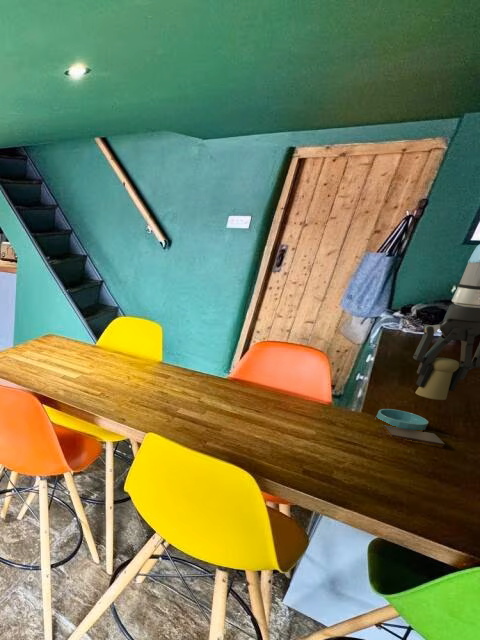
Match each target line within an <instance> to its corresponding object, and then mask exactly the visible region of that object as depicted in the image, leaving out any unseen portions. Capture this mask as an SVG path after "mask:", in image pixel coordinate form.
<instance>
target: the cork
mask: <svg viewBox="0 0 480 640" xmlns="http://www.w3.org/2000/svg"><path fill="white" fill-rule="evenodd" d="M430 364H432V365H433V367H432V369H431V372H430V374H429V376H428V378H427V381H426V383H425V385H424V387H419V386H418V387H417V388H416V391H415V394H416V395H418V396H420V397H422V398H425V399H431V400H437V401H444V400H447V399H448V393H449V386H450V382H451V378H452V375H453V372H454V371H456V370H457V369H458V368H459V366H460V362H459V361H457V360H456V359H452V358H448V357H435V358H434V359H433V361H432V362H431V363H430Z"/></svg>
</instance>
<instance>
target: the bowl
mask: <svg viewBox="0 0 480 640" xmlns="http://www.w3.org/2000/svg"><path fill="white" fill-rule="evenodd" d="M376 417H377V418H378V419H380V420H382V421H384V422H386V423H388V424H390V425H392V426H396V427H398V428H404V429H410V430H416V431H417V430H425V431H426V429H427V426H428V425H429V420H427V419H426V418H424V417H423V416H421V415H418V414H415V413H413V412H409V411H406V410H405V411H404V410H399V409H392V408H382V409H379V410H378V411H377V414H376V416H375V418H376Z"/></svg>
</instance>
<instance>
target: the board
mask: <svg viewBox="0 0 480 640" xmlns="http://www.w3.org/2000/svg"><path fill="white" fill-rule="evenodd" d="M383 427H385V428H386V429H387V430H388V432H389V433H390V435H391V436H392V437H398V438H401V439H407V440H412V441H418V442H425V443H429V444H436V445H437V444H438V445H443V446H444V447H445V443H444V441H443V440H442V439H441V438H439V436H438V435H436V433H433V432H428V431H424V432H422V431H416V430H410V429H404V428H398V427H392V426H386V425H383Z"/></svg>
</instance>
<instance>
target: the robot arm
mask: <svg viewBox="0 0 480 640" xmlns="http://www.w3.org/2000/svg"><path fill="white" fill-rule="evenodd" d="M451 302H452V303H451V304H449V306H448V308H447V309H446V312H445V315H444V318H443V319H442V321H441V322H439V323H438V324H433V325H430V324H425V325H424V326H423V334H422V337H421V339H420V341H419V343H418V345H417V348H416V350H415V352H414V354H413V356H412V359H414V360H415V361H416V362H419V365H418V368H417V370H416V374H417V375H419V376H418V378H417V380H416V382H415V384H416V385H417V386H418V388H419V387H424V385H425V383H426V381H427V378H428V376H429V374H430V372H431V369H432V367H433V365H432V364H430V363H431V362H432V361H433V360H434V359H435V358H437V356H438V355H439V354H440V353H441V352H442V351H443V349H444V348H445V347H446V346H447V345H448V344H450V343H451V342H452V341H460V343H461V345H460V362H459V368H458V369H457V370H456V371H454V372H453V375H452V378H451V382H450V386H449V390H448V392H454V391H455V389H456V387H457V385H458V383H459V381H460V380H461V381H462V380H464V379H465V378H466V377H467V374H468V372H469V371H470V370H472V369H475V368H476V369H480V342H479V344H478V346H477V348H476V350H475V352H474V355H473V347H474V345H475V338H476V337H477V336H479V335H480V244H478V245H477V246H476V247H475V248H474V250H473V252H472V254H471V255H470V258H469V259H468V261H467V265H466V267H465V269H464V271H463V275H462V277H461V279H460V281H459V284H458V286H457V288H456V290H455V292H454V294H453V296H452V298H451ZM438 330H440V332H441V334H440V336H439V337H438V338H437V340H436V342H434V344H433V345H432V346H431V348H430V349H429V347H430V345H431V343H432V340H433V338H434V336H435V334H436V333H437V332H438Z"/></svg>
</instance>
